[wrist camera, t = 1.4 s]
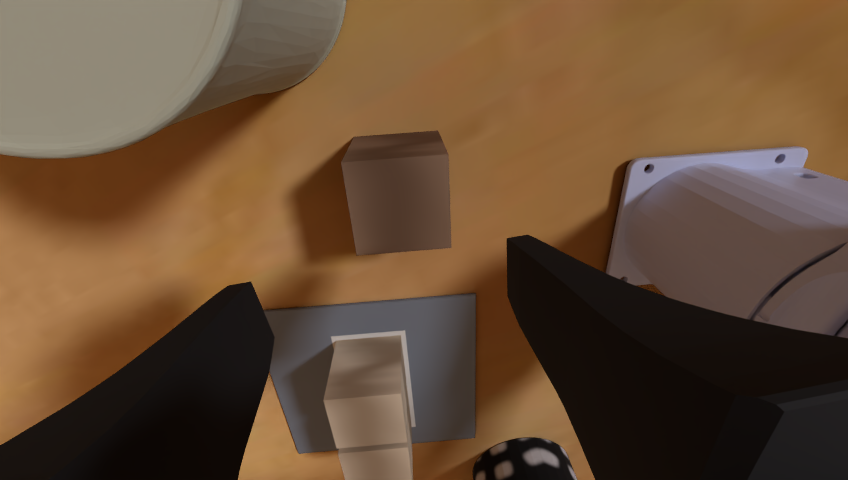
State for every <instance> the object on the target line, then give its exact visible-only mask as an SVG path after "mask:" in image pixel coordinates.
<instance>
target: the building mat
mask: <svg viewBox="0 0 848 480" xmlns="http://www.w3.org/2000/svg"><path fill="white" fill-rule="evenodd" d="M263 311H264V313H265V316H266V318H267V320H268V323H269V325H270V327H271V330H272V332H273V334H274V337H275V339H274V346H273V353H272V359H271V365H270V370H269V371H270V374H271V377H272V380H273V382H274V385H275V388H276V391H277V394H278V397H279V399H280V402H281V405H282V408H283V411H284V414H285V416H286V419H287V422H288V425H289V428H290V430H291V433H292V436H293V439H294V442H295V445H296V447H297V450H298V453H299V454H301V453H312V452H323V451H334V450H339V448H338V449H337V448H336V445H335V441H334V437H333V434H332V430H331V426H330V423H329V419H328V415H327V412H326V408H325V404H324V401H323V400H324V395H325V391H326V386H327V382H328V377H329V372H330V368H331V363H332V359H333V354H334V350H335V345H336V341H337V340H349V339H361V338H373V337H384V336H396V335H401V339H402V348H403V356H404V365H405V374H406V386H407V391H408V399H409V408H410V416H411V427H412V444H413V443H424V442H435V441H446V440H457V439H468V438H475V358H476V294H475V293H471V294H459V295H446V296H434V297H422V298H410V299H397V300H385V301H373V302H361V303H349V304H336V305H324V306H312V307H300V308H287V309H275V310H263Z"/></svg>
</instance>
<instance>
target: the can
mask: <svg viewBox="0 0 848 480" xmlns="http://www.w3.org/2000/svg"><path fill="white" fill-rule="evenodd" d="M345 7H346V0H0V154H1V155H8V156H15V157H22V158H38V159H44V158H78V157H87V156H93V155H97V154H102V153H107V152H111V151H114V150H118V149H121V148H124V147H128V146H130V145H132V144H135V143H137V142H139V141H142V140H144V139H146V138H147V137H149V136H151V135H153V134H155V133H157V132H159V131H160V130H162V129H163V128H165V127H167V126H170V125H172V124H175V123H177V122H180V121H182V120H185V119H188V118H190V117H193V116H195V115H198V114H201V113H203V112H206V111H209V110H211V109H214V108H217V107H220V106H223V105H226V104H229V103H232V102H234V101H237V100H240V99H243V98H246V97H249V96H252V95H255V94H265V93H272V92H276V91H280V90H283V89H286V88H289V87H291V86H293V85H295V84H297V83H299V82H301V81H302V80H304V79H305V78H307V77H308V76H309V75H310V74H312V73H313V72H314V71H315V70H316V69H317V68H318V67H319V66H320V65H321V64H322V62H323V61H324V60H325V59H326V57H327V56H328V54H329V53H330V51H331V49H332V48H333V46H334V44H335V42H336V39H337V37H338V35H339V32H340V29H341V26H342V22H343V18H344V13H345Z"/></svg>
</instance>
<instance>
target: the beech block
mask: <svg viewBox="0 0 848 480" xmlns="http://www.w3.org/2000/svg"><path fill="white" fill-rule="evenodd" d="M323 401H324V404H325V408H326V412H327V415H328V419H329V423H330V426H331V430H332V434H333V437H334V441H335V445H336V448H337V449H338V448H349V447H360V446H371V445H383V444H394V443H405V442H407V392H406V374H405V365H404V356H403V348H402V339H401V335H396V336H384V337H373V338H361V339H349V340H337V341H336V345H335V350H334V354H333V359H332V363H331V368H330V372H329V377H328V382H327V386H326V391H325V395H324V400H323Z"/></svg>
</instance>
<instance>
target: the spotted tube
mask: <svg viewBox="0 0 848 480" xmlns="http://www.w3.org/2000/svg"><path fill="white" fill-rule="evenodd" d="M473 479H474V480H577V478H576V475H575V473H574V470H573V468H572V465H571V463H570V461H569V458H568V456H567V454H566V452H565V450H564V449H563V448H562V447H561V446H560V445H558V444H556V443H554V442H552V441H549V440H546V439H540V438H521V439H514V440H510V441H506V442H504V443H501V444H498V445H496V446H494V447H493V448H491V449H489V450H488V451H486V452H485V453H484V454H482V456H481V457H480V458H479V459H478V460H477V462H476V463H475V465H474V468H473Z"/></svg>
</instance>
